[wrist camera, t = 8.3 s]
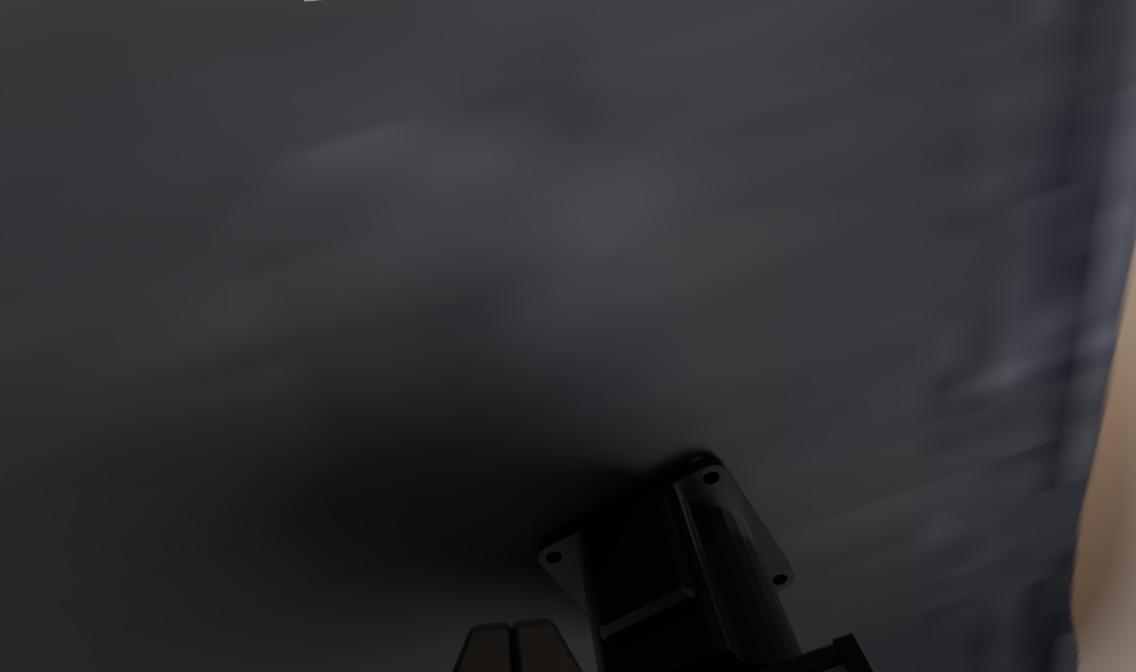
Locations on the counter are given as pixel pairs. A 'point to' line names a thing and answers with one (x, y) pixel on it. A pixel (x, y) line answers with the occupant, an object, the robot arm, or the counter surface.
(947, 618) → the counter surface
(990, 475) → the counter surface
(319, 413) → the counter surface
